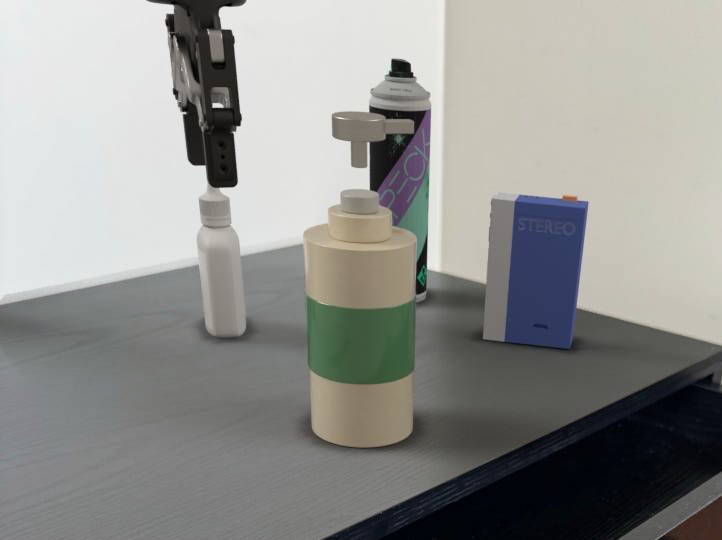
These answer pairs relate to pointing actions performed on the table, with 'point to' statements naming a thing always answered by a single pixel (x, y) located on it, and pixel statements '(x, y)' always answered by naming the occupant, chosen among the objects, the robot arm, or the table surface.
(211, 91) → the robot arm
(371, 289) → the soap bottle
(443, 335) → the table surface
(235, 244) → the eye dropper bottle
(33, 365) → the table surface
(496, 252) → the walkman
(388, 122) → the pump
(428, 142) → the spray can
